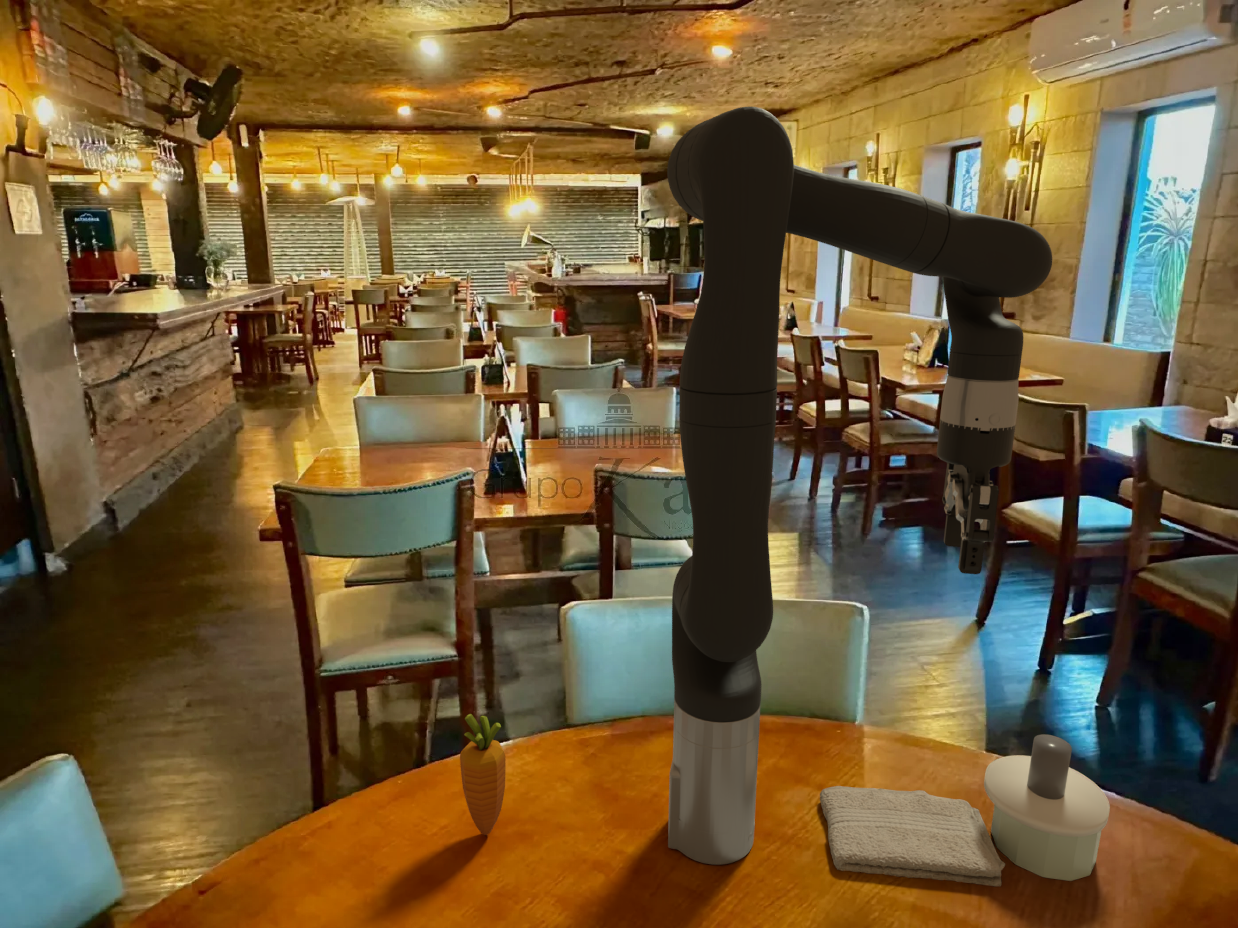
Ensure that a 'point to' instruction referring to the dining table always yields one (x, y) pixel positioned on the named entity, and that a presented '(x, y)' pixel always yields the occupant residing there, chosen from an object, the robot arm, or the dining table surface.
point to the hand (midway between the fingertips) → (961, 558)
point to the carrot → (483, 774)
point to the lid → (1047, 790)
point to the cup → (1044, 849)
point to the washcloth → (909, 835)
